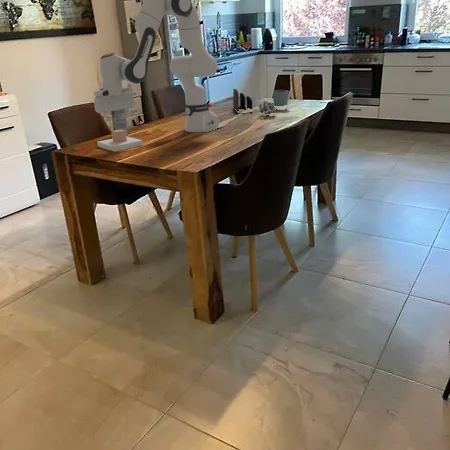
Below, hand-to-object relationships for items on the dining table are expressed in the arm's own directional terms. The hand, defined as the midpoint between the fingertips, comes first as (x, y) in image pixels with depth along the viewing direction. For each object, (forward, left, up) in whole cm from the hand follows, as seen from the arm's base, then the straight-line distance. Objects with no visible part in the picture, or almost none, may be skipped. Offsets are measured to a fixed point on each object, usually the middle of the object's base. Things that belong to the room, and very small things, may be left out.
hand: (117, 119), depth 229 cm
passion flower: (-99, +7, -13) cm, 101 cm away
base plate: (0, 0, -13) cm, 13 cm away
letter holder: (-105, -20, -14) cm, 108 cm away
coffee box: (-12, -19, -13) cm, 26 cm away
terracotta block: (0, +1, -11) cm, 11 cm away
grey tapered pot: (-123, -3, -13) cm, 124 cm away
